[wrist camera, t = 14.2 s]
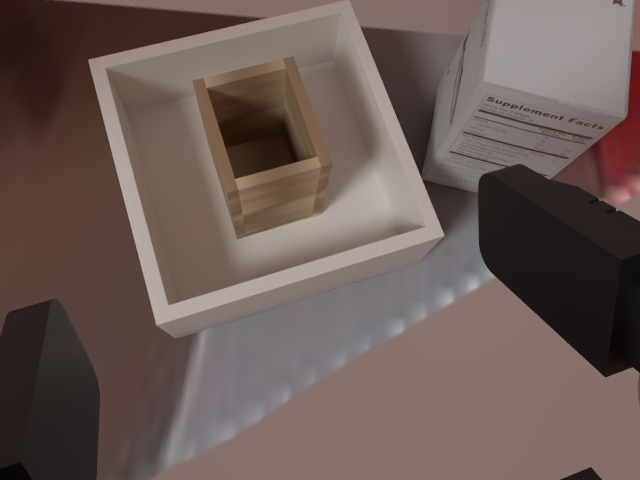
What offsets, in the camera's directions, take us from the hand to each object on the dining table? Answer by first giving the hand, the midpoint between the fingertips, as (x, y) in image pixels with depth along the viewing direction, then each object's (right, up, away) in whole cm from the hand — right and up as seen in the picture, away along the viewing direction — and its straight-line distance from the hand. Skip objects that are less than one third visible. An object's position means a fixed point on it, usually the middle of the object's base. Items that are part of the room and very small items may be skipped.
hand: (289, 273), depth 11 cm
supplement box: (+12, +7, +29) cm, 32 cm away
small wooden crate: (-3, +4, +26) cm, 27 cm away
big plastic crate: (-3, +4, +27) cm, 28 cm away
